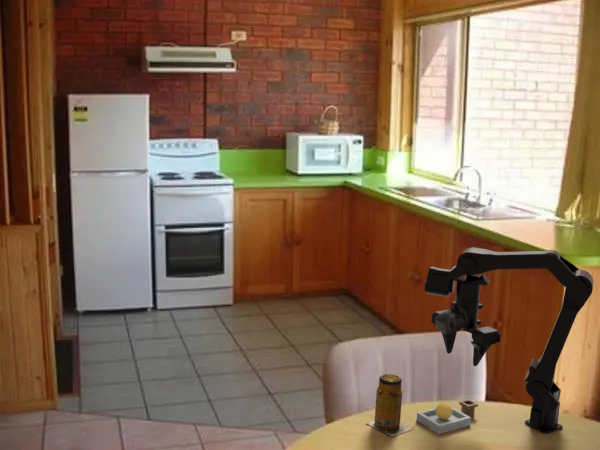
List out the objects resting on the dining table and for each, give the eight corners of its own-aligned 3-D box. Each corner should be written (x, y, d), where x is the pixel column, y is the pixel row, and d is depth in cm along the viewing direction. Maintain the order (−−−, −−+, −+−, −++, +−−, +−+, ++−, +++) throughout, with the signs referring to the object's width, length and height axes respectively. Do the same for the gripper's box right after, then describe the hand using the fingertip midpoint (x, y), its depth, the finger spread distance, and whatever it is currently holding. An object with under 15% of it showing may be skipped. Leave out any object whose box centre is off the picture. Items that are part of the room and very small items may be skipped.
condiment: (387, 416, 182) (390, 370, 179) (413, 429, 175) (416, 382, 173) (365, 423, 177) (368, 376, 175) (391, 438, 171) (395, 389, 168)
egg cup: (467, 410, 186) (468, 398, 186) (476, 416, 184) (478, 403, 183) (458, 413, 185) (459, 401, 184) (467, 418, 182) (468, 406, 181)
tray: (447, 411, 185) (447, 404, 185) (470, 425, 179) (470, 417, 178) (416, 420, 180) (417, 412, 180) (439, 434, 173) (439, 426, 173)
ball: (444, 414, 182) (444, 398, 181) (455, 420, 179) (456, 404, 178) (431, 417, 180) (432, 402, 179) (443, 423, 176) (444, 408, 176)
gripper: (417, 293, 186) (412, 352, 189) (470, 314, 170) (464, 378, 173) (450, 288, 192) (445, 345, 195) (505, 308, 176) (498, 370, 179)
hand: (461, 359), depth 185 cm, fingers open, 9 cm apart
